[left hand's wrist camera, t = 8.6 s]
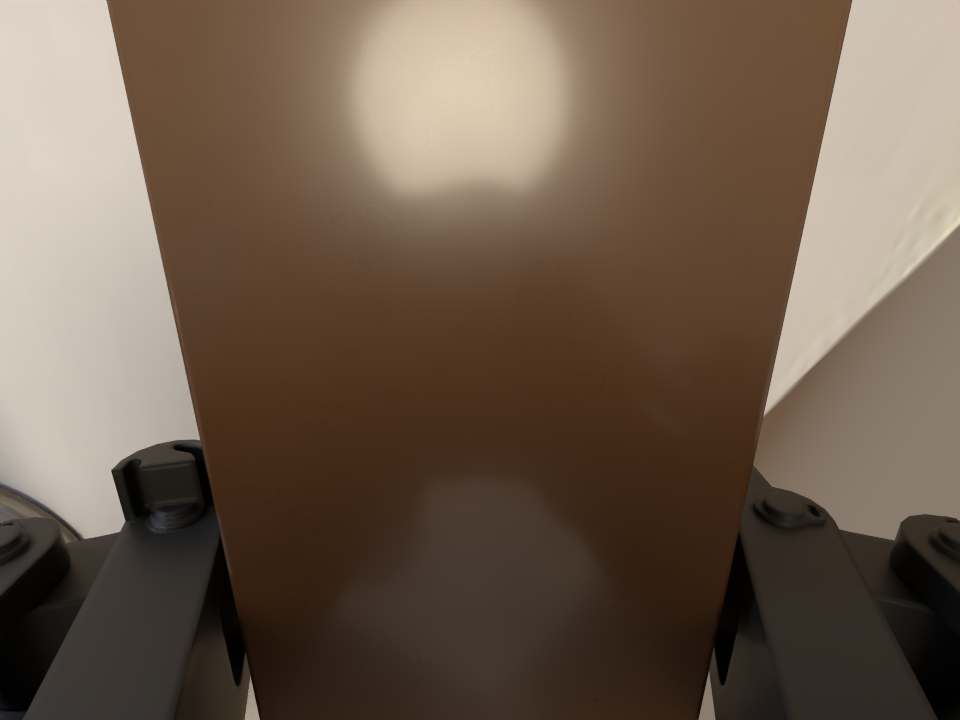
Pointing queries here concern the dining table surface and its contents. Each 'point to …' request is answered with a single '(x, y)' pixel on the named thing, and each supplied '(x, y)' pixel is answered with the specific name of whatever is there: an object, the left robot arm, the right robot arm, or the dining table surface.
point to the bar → (479, 328)
